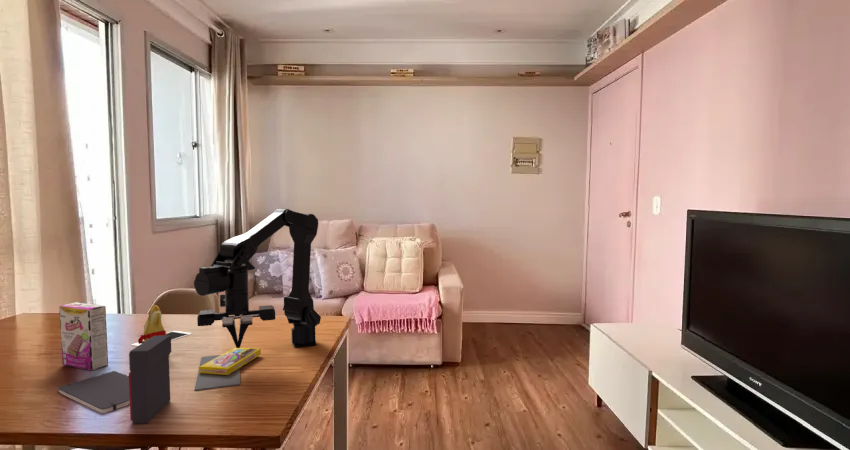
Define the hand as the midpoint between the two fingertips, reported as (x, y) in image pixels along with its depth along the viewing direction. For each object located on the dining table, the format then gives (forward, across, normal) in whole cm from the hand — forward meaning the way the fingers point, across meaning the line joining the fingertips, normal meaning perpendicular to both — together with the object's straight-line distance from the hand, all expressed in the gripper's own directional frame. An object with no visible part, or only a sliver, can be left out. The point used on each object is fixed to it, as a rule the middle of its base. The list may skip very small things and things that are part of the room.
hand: (238, 347), depth 130 cm
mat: (+6, +5, 0) cm, 7 cm away
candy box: (+4, -2, -1) cm, 4 cm away
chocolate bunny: (+6, +22, -16) cm, 28 cm away
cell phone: (+6, +22, -35) cm, 42 cm away
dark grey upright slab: (+6, +17, +21) cm, 28 cm away
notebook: (+6, +28, +6) cm, 29 cm away
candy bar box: (+6, +38, -16) cm, 42 cm away
